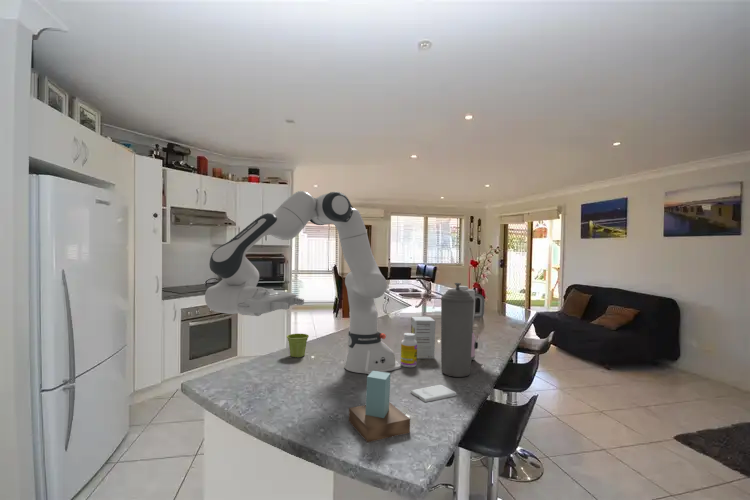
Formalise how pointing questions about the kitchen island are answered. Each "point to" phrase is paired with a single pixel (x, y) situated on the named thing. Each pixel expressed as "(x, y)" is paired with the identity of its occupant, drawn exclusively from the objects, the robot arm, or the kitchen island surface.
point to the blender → (474, 315)
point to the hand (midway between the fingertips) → (296, 303)
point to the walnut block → (379, 423)
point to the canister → (456, 332)
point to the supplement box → (424, 336)
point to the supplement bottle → (409, 350)
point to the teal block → (377, 394)
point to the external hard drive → (433, 393)
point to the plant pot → (297, 344)
